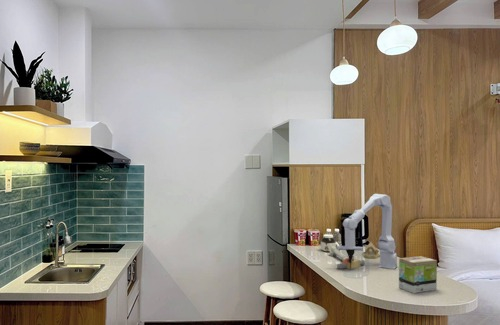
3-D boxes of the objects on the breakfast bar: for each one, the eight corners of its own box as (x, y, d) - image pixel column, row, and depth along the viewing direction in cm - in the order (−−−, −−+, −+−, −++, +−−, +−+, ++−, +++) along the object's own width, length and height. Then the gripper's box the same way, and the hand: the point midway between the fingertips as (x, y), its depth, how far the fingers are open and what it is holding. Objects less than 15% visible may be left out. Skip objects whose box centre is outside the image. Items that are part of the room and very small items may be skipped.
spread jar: (319, 251, 265) (319, 234, 265) (328, 249, 273) (328, 233, 273) (333, 254, 256) (333, 237, 257) (342, 251, 264) (342, 235, 264)
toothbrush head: (344, 258, 229) (328, 244, 253) (343, 268, 230) (328, 253, 254) (352, 257, 230) (335, 244, 254) (351, 268, 231) (335, 253, 255)
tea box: (414, 294, 174) (414, 262, 174) (398, 287, 183) (398, 257, 184) (437, 290, 180) (437, 259, 180) (420, 284, 189) (420, 255, 190)
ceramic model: (363, 253, 259) (363, 239, 259) (380, 255, 255) (380, 240, 255) (361, 258, 245) (361, 243, 246) (379, 259, 241) (379, 244, 242)
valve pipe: (359, 263, 230) (359, 257, 230) (366, 265, 225) (366, 259, 225) (335, 267, 220) (335, 261, 220) (342, 270, 215) (342, 263, 215)
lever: (349, 259, 224) (349, 255, 224) (354, 260, 223) (354, 256, 223) (341, 263, 214) (341, 259, 214) (346, 264, 212) (347, 260, 213)
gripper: (361, 238, 219) (362, 261, 219) (336, 237, 221) (336, 260, 221) (363, 240, 212) (363, 264, 212) (337, 239, 214) (337, 263, 214)
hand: (350, 262), depth 216 cm, fingers closed, pressing on lever
